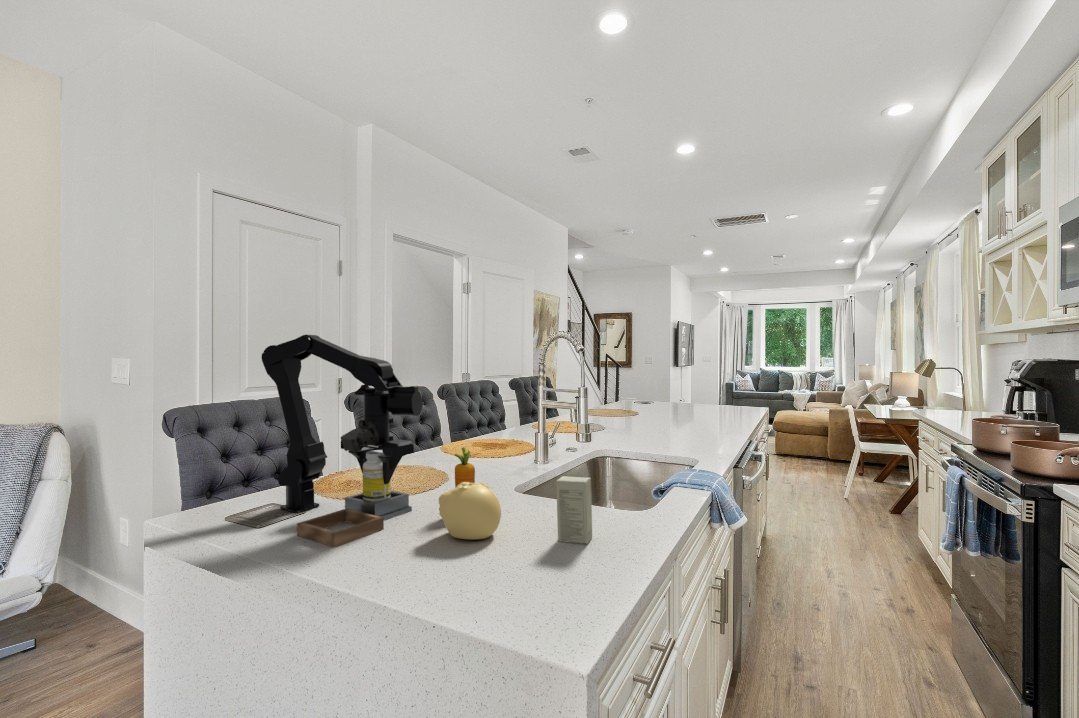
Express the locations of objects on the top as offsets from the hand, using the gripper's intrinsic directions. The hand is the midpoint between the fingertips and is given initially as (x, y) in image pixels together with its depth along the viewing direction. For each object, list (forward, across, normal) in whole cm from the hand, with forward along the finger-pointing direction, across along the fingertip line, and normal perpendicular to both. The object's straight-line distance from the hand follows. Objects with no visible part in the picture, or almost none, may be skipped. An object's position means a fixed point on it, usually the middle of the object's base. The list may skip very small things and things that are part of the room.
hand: (376, 481), depth 124 cm
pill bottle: (+4, 0, 0) cm, 4 cm away
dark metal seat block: (+7, 0, 0) cm, 7 cm away
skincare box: (+7, +47, +9) cm, 49 cm away
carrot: (+7, +17, +11) cm, 22 cm away
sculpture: (+7, +28, 0) cm, 29 cm away
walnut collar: (+7, +4, -13) cm, 15 cm away
